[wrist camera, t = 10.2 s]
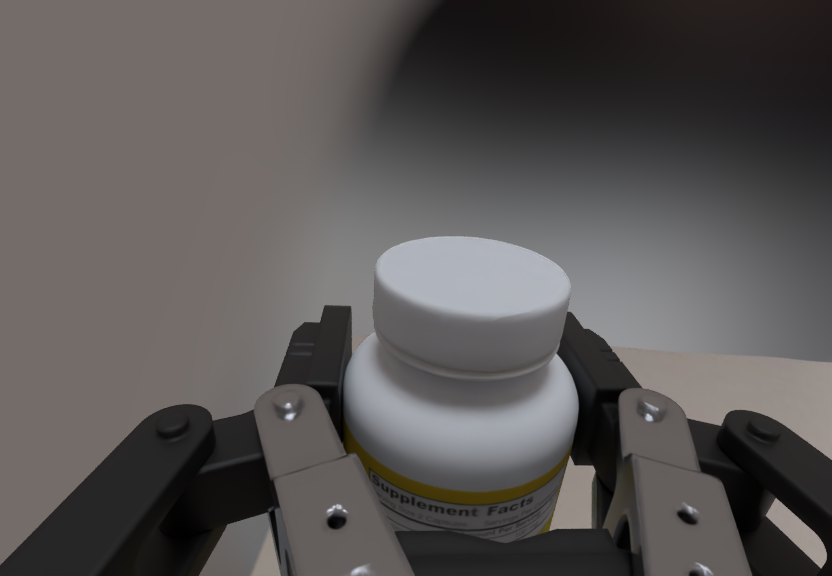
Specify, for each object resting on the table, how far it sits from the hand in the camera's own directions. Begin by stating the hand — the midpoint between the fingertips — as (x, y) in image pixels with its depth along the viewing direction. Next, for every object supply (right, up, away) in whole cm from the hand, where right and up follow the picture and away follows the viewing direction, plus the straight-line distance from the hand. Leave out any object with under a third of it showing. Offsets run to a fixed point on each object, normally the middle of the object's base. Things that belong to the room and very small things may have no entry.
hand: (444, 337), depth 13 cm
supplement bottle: (0, -7, +1) cm, 7 cm away
